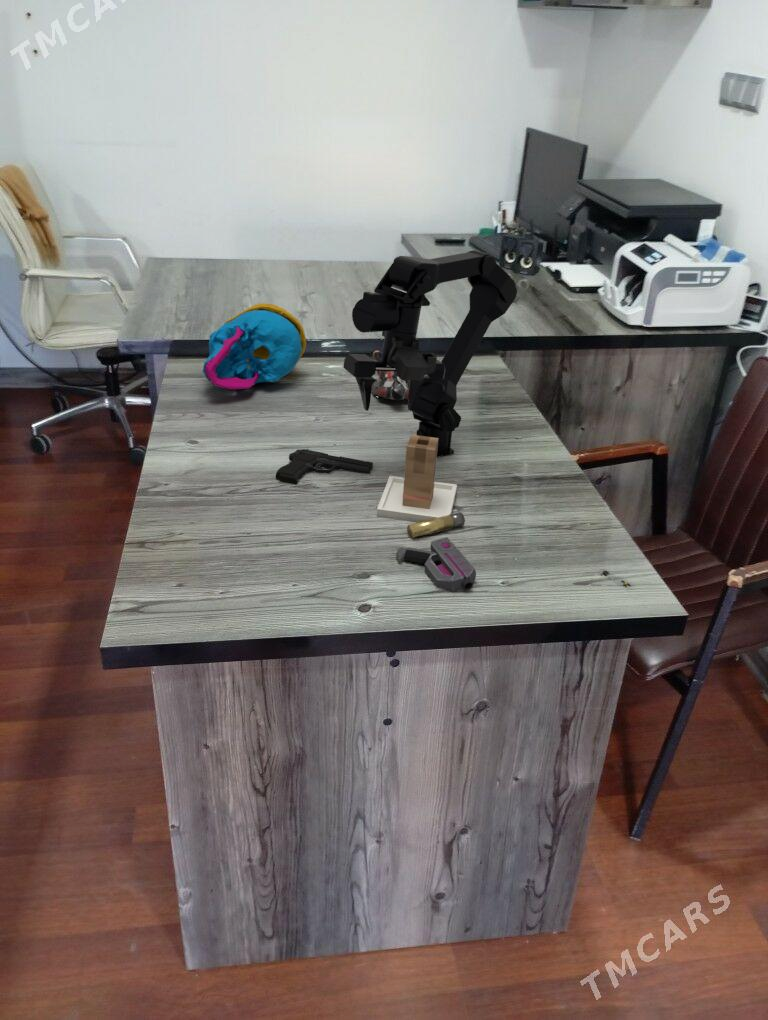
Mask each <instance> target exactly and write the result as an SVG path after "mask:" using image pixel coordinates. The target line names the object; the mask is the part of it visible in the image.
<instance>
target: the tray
mask: <svg viewBox="0 0 768 1020" xmlns="http://www.w3.org/2000/svg"><path fill="white" fill-rule="evenodd" d="M403 489H404V477H402V476H395V475H389V477H388V480H387V481H386V485H385V488H384V490H383V492H382V495H381V498H380V500H379V503H378V506H377V508H376V517H381V518H388V519H395V520H401V521H409V522H414V523H418V522H422V521H426V520H430V519H434V518H438V517H442V516H446V515H450V514H453V508H454V503H455V500H456V499H455V498H456V496H457V495H456V494H457V489H458V484H454V483H447V482H440V481H434V492H433V498H432V502H431V505H430V509H424V508H416V507H409V506H402V503H403Z"/></svg>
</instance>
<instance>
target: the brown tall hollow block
mask: <svg viewBox="0 0 768 1020" xmlns="http://www.w3.org/2000/svg"><path fill="white" fill-rule="evenodd" d="M438 439H439V438H433V437H426V436H418V435H417V434H410V437H409V439H408V441H407V444H406V451H405V463H404V464H405V466H404V477H403V478H404V489H403V503H402V506H409V507H416V508H424V509H430V505H431V502H432V498H433V492H434V482H436V481H435V480H436V472H437V471H436V469H437V468H436V467H437V458H438V457H437V449H438Z"/></svg>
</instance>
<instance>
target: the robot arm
mask: <svg viewBox="0 0 768 1020" xmlns="http://www.w3.org/2000/svg"><path fill="white" fill-rule="evenodd" d="M466 278H467V281H468V283H469V285H470V287H471V290H470V292H469V296H468V297H469V310H468V312H467V313H466V316H465V317H464V319H463V321H462V323H461V325H460V326H459V327H460V328H458V331H457V332H456V334H455V335H454V338H453V339H452V341H451V343H450V345H449V347H448V349H447V350H446V352H445V354H444V356H443V358H442V359H441V361H440V360H438V357H437V355H436V353H434V352H420V339H418V338H417V336H418V335H417V333H418V329H419V321H420V316H421V310H422V307H429V306H430V305H431V302H430V300H429V299H428V298H427V296H426V294H428V293H430V292H432V291H434V290H435V289H436V288H437V286H438V285H441V284H443V283H447V282H452V281H458V280H463V279H466ZM517 295H518V288H517V283H516V281H515V280H514V279H512V278H511V276H510V275H509V273H508V272H506V271H505V270H504V269H503V268H502V267H501V266H500V265H499V264H498V263H497V261H496V260H495V258H494V257H493V256H492V254H489V253H486V252H483V251H479V250H475V249H473V250H469V251H467V252H462V253H457V254H452V255H446V256H441V257H434V258H423V257H416V256H410V255H409V256H408V255H400V256H397V257H395V258H394V260H393V262H392V263H391V265H390V266H389V267H388V269H387V270H386V272H385V273H384V274H383V276H382V278H381V279H380V281H379V282H378V284H376V287H375V288H374V292H371V291H364V292H363V295H362V298H360V299H359V300H357V302H356V303H355V305H354V307H353V308H352V312H351V318H352V322H353V326H354V327H355V328H356V330H358V332H360V333H364V334H365V333H378V332H381V337H384V338H383V344H382V351H380V352H379V356H378V357H379V358H381V361H380V360H375V359H372V358H371V357H370V356H369V355H367V354H365V353H362V354H360V353H348V354H347V355H346V357H345V358H344V360H343V369H345V370H346V371H347V372H348V373H349V374H351V375H352V376H353V377H354V378H355V380H356V383H357V385H358V389H359V392H360V397H361V401H362V404H363V408H364V410H365V411H366V412H367V411H369V409H370V407H371V398H372V397H371V396H372V385H373V383H374V382H375V379H376V378H374V377H373V376H374V375H376V373H377V371H397V373H398V376H399V378H400V379H401V380H404V381H406V382H408V380H410V387H409V395H408V399H407V410H408V411H409V412H412V417H413V419H414V420H417V421H418V429H417V430H416V435H418V436H426V437H433V438H439V439H438V449H437V458H438V457H439V458H440V457H443V456H448V455H454V454H455V450H454V449H453V448H451V446H452V445H451V444H452V435H453V432H455V430H456V429H457V428H459V427H460V425H461V424H460V423H461V420H462V416H461V415H460V414H459V412H458V411H456V409H455V406H456V403H457V400H458V399H457V398H458V396H457V392H458V391H457V385H458V383H459V381H460V379H461V378H462V376H463V375H464V373H465V371H466V369H467V367H468V365H469V364H470V362H471V360H472V358H473V356H474V354H475V353H476V351H477V349H478V347H479V345H480V343H481V342H482V340H483V338H484V336H485V334H486V333H487V331H488V329H489V327H490V325H491V324H492V322H494V321H496V320H497V319H499V318H500V317H502V316H503V315H505V314H506V312H507V311H508V310H509V308H510V307H511V305H513V303H514V301H515V299H516V298H517ZM387 365H388V366H387ZM375 383H376V382H375Z"/></svg>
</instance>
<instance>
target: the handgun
mask: <svg viewBox="0 0 768 1020" xmlns="http://www.w3.org/2000/svg"><path fill="white" fill-rule="evenodd" d="M288 461H290V462H289V463H287V464H285V465H283V466H281V467H280V468H278V469H277V470H276V473H275V480H277V481H278V482H279V483H283V484H289V485H298V481H299V480H300V479H301V478H302V477H303V476H305V475H306V474H307V473H312V472H313V473H316V474H331V473H332V472H333V471H339V470H340V469H342V470H344V471H349V472H354V473H358V474H359V473H360V474H365V475H368V474H371V472H372V470H373V467H374V461H368V460H366V461H365V460H362V459H361V460H360V459H358V458H357V459H356V458H350V457H345V456H341V455H340V456H338V455H333V454H328V453H325V452H320V451H316V450H311V449H309V448H306V449H303V448H302V449H296V451H294V452H291V453H289V455H288ZM322 467H324V469H323V468H322ZM320 468H322V469H320Z"/></svg>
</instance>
